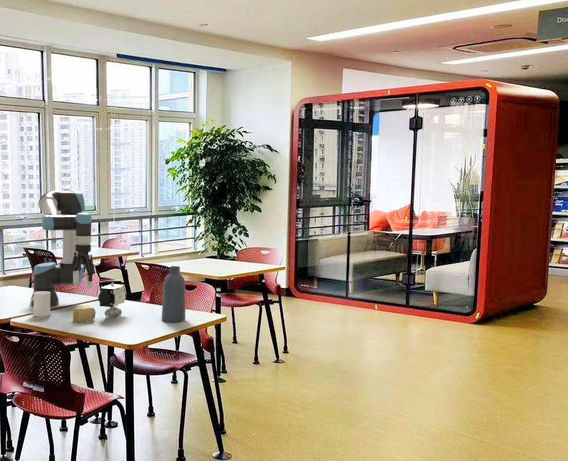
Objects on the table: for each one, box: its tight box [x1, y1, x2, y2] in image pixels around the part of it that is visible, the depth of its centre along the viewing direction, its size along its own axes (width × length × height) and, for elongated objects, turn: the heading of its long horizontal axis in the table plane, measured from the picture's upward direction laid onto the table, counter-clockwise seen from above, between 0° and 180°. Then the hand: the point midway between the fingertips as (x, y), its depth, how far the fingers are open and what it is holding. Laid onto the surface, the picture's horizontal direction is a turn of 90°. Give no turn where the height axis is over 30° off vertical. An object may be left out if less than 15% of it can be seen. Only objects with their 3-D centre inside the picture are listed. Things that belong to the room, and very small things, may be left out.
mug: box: [29, 291, 51, 318], centre depth 321 cm, size 12×8×12 cm
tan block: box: [72, 305, 96, 324], centre depth 314 cm, size 6×10×7 cm, turn 136°
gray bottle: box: [161, 265, 186, 323], centre depth 322 cm, size 12×12×28 cm
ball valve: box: [97, 282, 127, 319], centre depth 326 cm, size 18×8×18 cm, turn 168°
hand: (82, 285), depth 312 cm, fingers open, 13 cm apart
